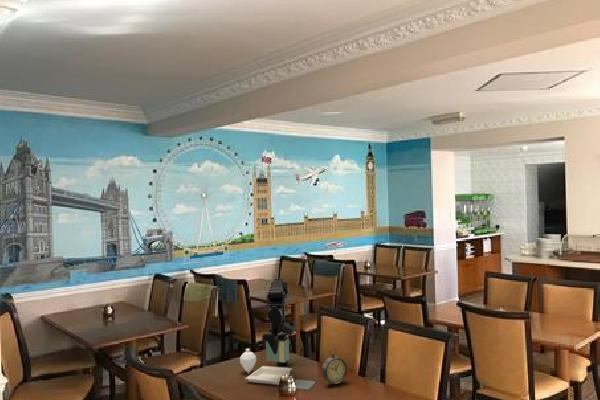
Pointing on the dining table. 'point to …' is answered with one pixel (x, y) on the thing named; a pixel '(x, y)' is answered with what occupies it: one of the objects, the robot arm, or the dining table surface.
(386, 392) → the dining table surface
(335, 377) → the alarm clock
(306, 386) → the mat
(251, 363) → the spinning top
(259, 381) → the white rectangular tray
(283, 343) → the tea tin
